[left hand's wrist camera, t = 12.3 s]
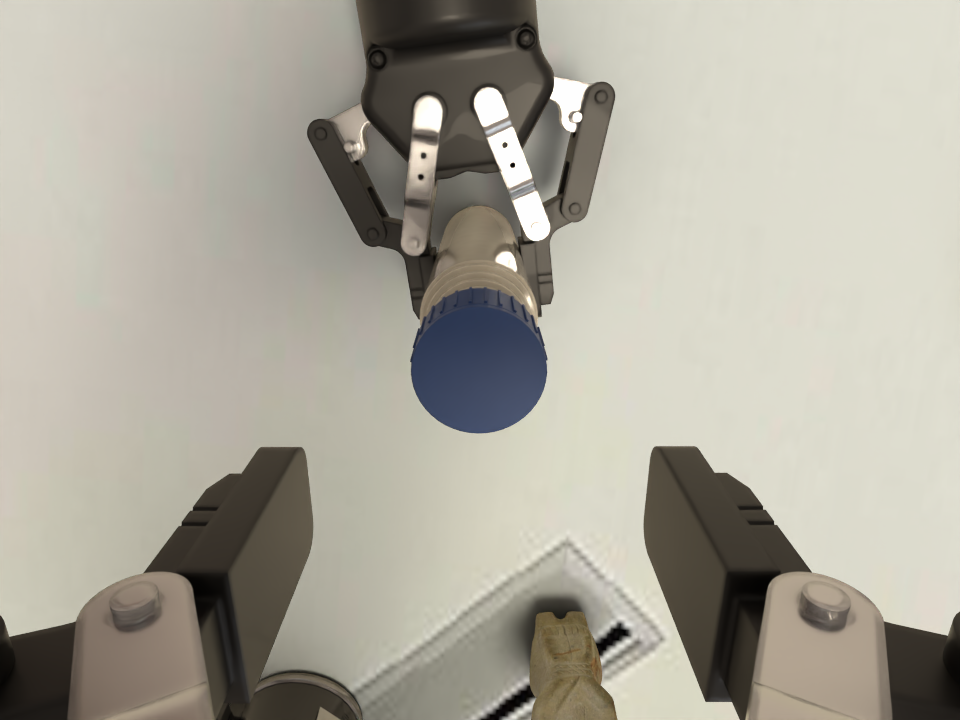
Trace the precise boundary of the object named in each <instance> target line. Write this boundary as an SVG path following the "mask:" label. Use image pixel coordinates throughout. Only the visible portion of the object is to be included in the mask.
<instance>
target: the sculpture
mask: <svg viewBox="0 0 960 720" xmlns="http://www.w3.org/2000/svg"><path fill="white" fill-rule="evenodd" d="M601 681H602V669H601V661H600V657H599V653H598V650H597V647H596V644H595V641H594V638H593V636H592V634H591V632H590V631H589V628H588V625H587V621H586V618H585V616H584V613H583V612H575V611H570V612H567V613H566V615H565V618H563V619H558V618H556V617H555V615H554V614H553V612H543V613H538V614H537V615H536V621H535V634H534V638H533V642H532V648H531V659H530V686H531V690H532V692H533V694H534V695H535V697H536V698H537V699H536V700H535V703H534V705H533V711H532V717H531V720H617V716H616V711H615V706H614V701H613V699H612V697H611V696H610V694H609V693H608V692H607V691H606V690H605V689H604V688H603V687H602V686H601Z"/></svg>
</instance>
